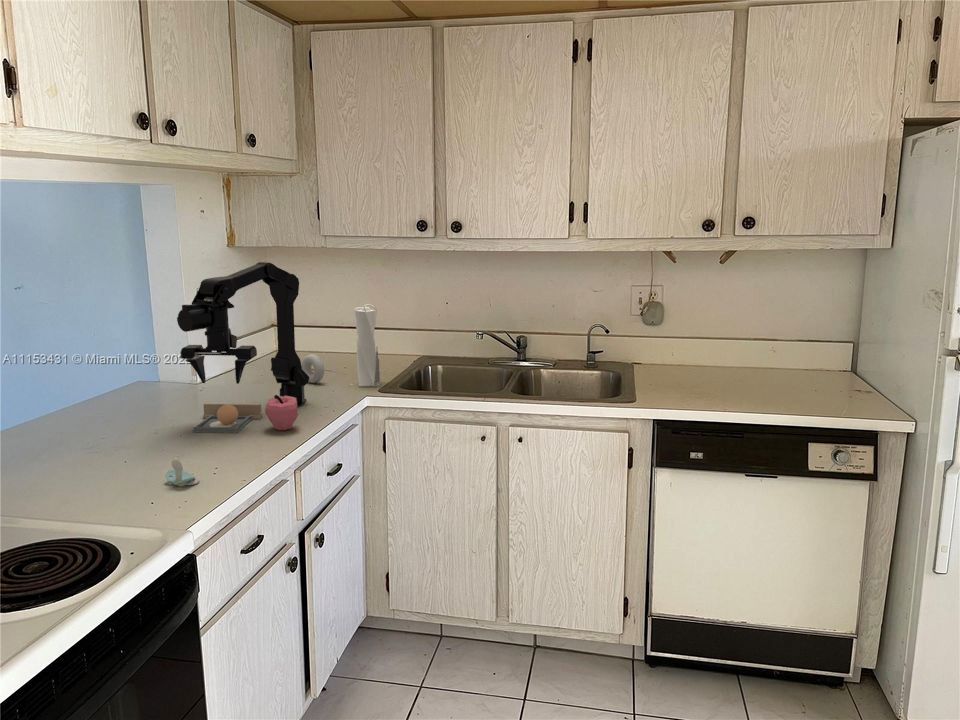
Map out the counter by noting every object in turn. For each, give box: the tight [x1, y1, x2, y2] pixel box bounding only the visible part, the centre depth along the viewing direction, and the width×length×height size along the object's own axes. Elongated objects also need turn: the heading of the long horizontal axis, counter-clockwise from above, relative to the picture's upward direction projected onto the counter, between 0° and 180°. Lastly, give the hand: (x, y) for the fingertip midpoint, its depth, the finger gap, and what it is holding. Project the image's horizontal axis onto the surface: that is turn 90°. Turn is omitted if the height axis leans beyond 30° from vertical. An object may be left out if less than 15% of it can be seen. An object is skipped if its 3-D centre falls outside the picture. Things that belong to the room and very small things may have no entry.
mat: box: [192, 416, 253, 434], centre depth 198 cm, size 12×12×1 cm
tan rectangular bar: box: [202, 402, 264, 420], centre depth 205 cm, size 16×3×4 cm, turn 90°
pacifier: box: [164, 456, 200, 487], centre depth 157 cm, size 7×6×6 cm
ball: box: [217, 404, 238, 425], centre depth 197 cm, size 6×6×6 cm
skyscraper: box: [353, 303, 381, 388], centre depth 242 cm, size 8×8×28 cm
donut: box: [301, 353, 325, 384], centre depth 246 cm, size 10×3×10 cm, turn 53°
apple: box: [264, 394, 299, 431], centre depth 195 cm, size 10×9×10 cm
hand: (221, 383), depth 196 cm, fingers open, 9 cm apart
